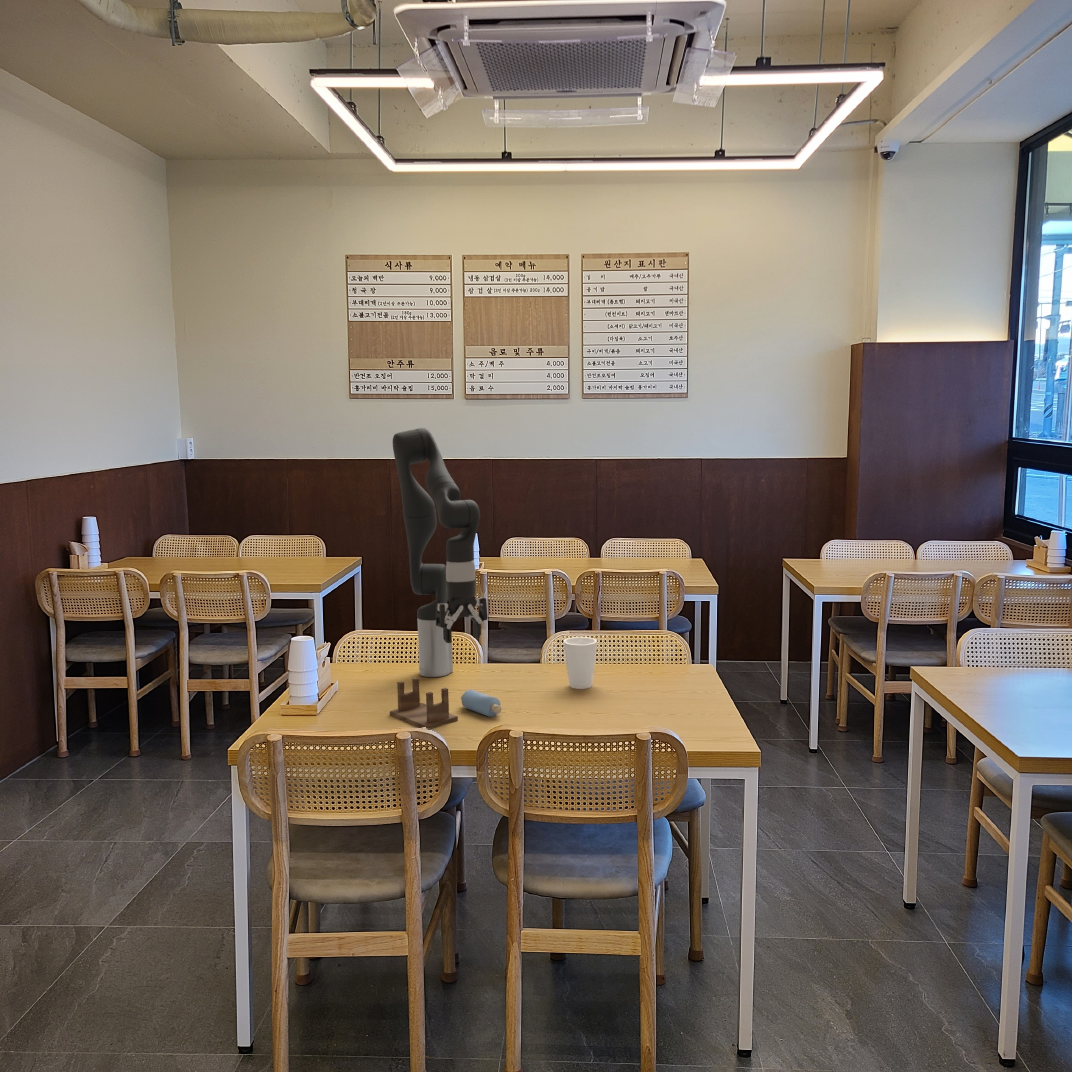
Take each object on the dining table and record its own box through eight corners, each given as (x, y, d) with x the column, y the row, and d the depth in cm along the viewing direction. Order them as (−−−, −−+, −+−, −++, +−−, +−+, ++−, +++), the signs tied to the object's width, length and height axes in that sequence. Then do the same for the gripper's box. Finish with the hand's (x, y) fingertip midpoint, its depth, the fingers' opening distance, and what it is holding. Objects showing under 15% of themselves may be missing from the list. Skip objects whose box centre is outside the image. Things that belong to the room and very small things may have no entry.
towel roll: (455, 707, 247) (457, 688, 247) (470, 705, 250) (471, 687, 250) (490, 720, 236) (491, 700, 236) (505, 718, 240) (506, 698, 239)
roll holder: (389, 714, 242) (388, 683, 241) (421, 706, 249) (420, 675, 248) (425, 729, 231) (424, 696, 229) (457, 720, 237) (456, 687, 236)
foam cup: (602, 683, 267) (601, 638, 265) (590, 692, 259) (589, 646, 257) (571, 679, 271) (571, 635, 269) (559, 688, 263) (558, 643, 261)
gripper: (476, 573, 246) (477, 633, 248) (429, 579, 237) (431, 641, 239) (492, 576, 240) (493, 638, 242) (444, 583, 231) (446, 647, 233)
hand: (462, 640), depth 241 cm, fingers open, 8 cm apart
